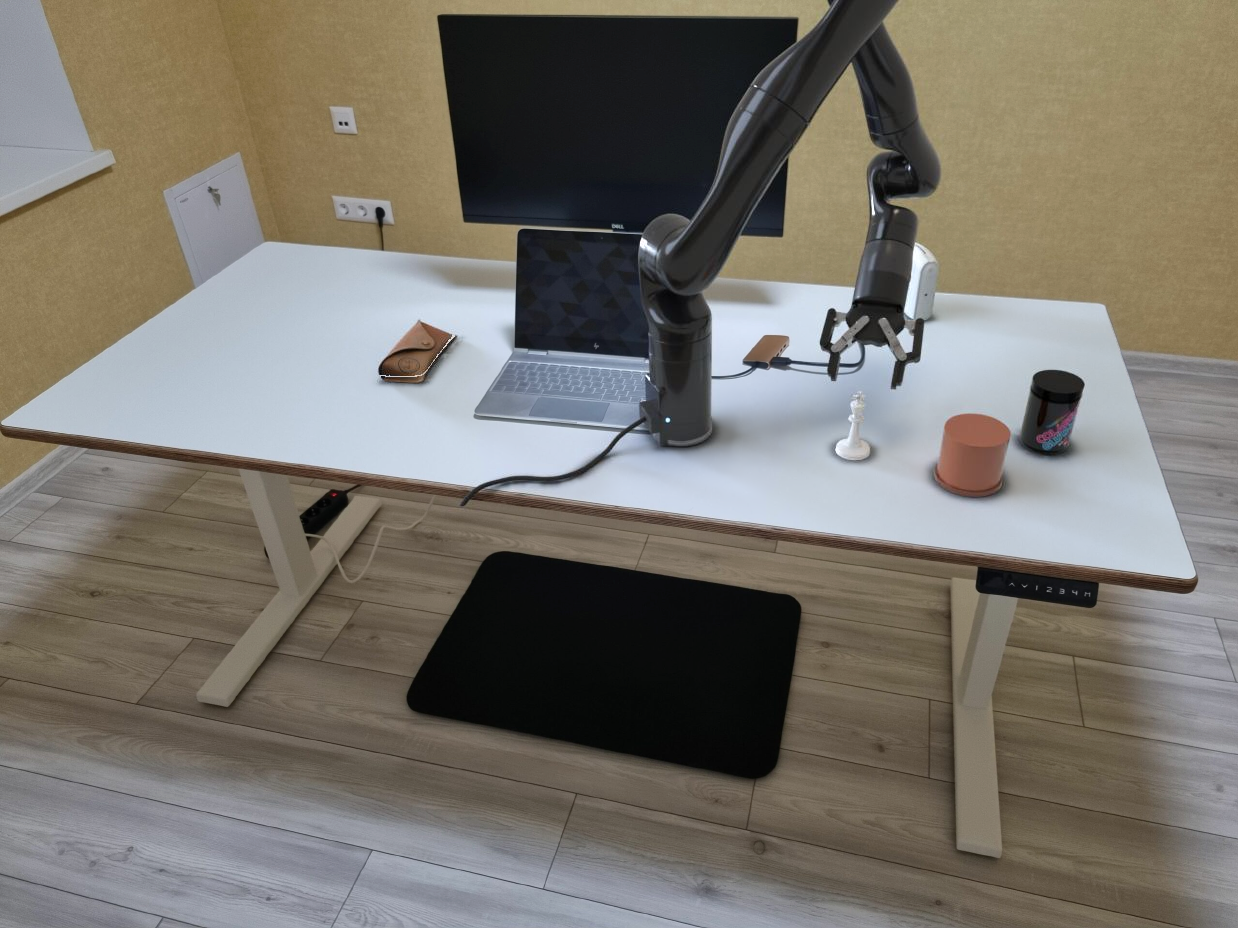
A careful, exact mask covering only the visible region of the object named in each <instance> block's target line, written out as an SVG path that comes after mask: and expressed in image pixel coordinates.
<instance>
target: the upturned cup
mask: <svg viewBox="0 0 1238 928" xmlns="http://www.w3.org/2000/svg"><path fill="white" fill-rule="evenodd" d="M1010 440H1011V431H1010V428H1009V427H1008V426H1007V424H1005V423H1004V422H1003V421H1001V420H999V419H997V418H995V417H992V416H990V415H986V414H981V413H970V412H969V413H960V414H957V415H953V416H951V417H950V418H948V419H947V420H946V421H945V423H944V426H943V432H942V437H941V443H940V448H939V454H938V460H937V463H936V464H935V466H934V470H933V478H934V479H935V482H936V483H937V484H938V485H939V487H941V488H942V489H944V490H945V491H948V492H950V493H952V494H954V495H958V496H960V497H961V496H962V497H965V498H967V497H968V498H983V497H988V496H991V495H994V494H995V493H997V492H998V491H1000V489H1001V488H1002V485H1003V480H1004V475H1003V470H1004V467H1005V461H1006V457H1007V452H1008V448H1009V444H1010Z"/></svg>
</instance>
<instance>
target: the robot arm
mask: <svg viewBox="0 0 1238 928" xmlns="http://www.w3.org/2000/svg"><path fill="white" fill-rule="evenodd" d="M826 1H827V4H828V6H829V8H828V9H827V11H826V12H825V13H824V14H823V16H822V17H821V19H819V21H818V22H817V23H816V24H815V25H814V26H813V27H812V29H810V30H809V31H808V32H807V33H806V34H804V36H802V37H801V38H800V39H799V40H797V41H796V42H795V43H793V44H792V45H791V46H789V47H788V48H786V50H784V51H783V52H782V53H780V54H779V55H778V56H777V57H775V58H774V59H773V60H772V61H770V62H769V63H768V64H767V65H766V66H765V67H764V68H763V69H762V70H761V71H760V72H759V73H758V74H757V75H756V77H755V78H754V80H753V81H752V82H751V84H750V85H749V87H748V89H747V90H746V92H745V93H744V94H743V96H742V98H741V100H740V101H739V102H738V104H737V106H736V107H735V109H734V111H733V113H732V114H731V116H730V118H729V120H728V123H727V125H726V128H725V131H724V135H723V139H722V143H721V148H720V154H719V159H718V162H717V168H716V173H715V177H714V179H713V181H712V184H711V187H710V189H709V191H708V192H707V194H706V196H705V198H704V199H703V201H702V203H701V204H700V206H699V207H698V209H697V210H696V212H695V214H694V215H693V216H692V217H691V219H689V218H688V217H685V216H683V215H681V214H677V213H666V214H662V215H659V216H657V217H656V218H654V219H653V220H651V221H650V222H649V223H648V225H647V226H646V227H645V229H644V230H643V232H642V235H641V237H640V241H639V244H638V250H637V251H638V253H637V264H638V265H637V266H638V280H639V290H640V302H641V308H642V312H643V315H644V316H645V317H644V318H645V320H646V324H647V347H648V352H647V353H648V372H646V373H645V374H644V386H645V389H644V390H645V400H643V401H640V402H638V411H639V418H638V420H636V421H634V422H633V423H631V424H629V425H628V426H626V427H625V428H624V429H623V430H621V431H620V432H619V433H618V434H617V435H616V436H615V437H614V438H613V439H612V440H611V442H610V443H609V444H608V446H607V447H606V448H605V449H604V450H602V452H601V453H599V454H598V455H597V456H596V457H594V458H593V459H592V460H591V461H589V462H587V464H585V465H583V466H582V467H580V468H578V469H576V470H573V471H570V472H566V473H563V474H560V475H559V474H558V475H553V476H540V475H539V476H538V475H537V476H536V475H511V476H505V477H501V478H497V479H493V480H490V481H486V482H483V483H480V484H479V485H477V486H476V487H473V488H472V489H471V490H470V491H469V492H468V493H467V494H466V495H465V496H464V497H463V499H462V500H461V502H460V503H459V507H465V506H466V505H467V504H468V502H469V501H470V500H471V499H472V498H473V497H474V496H475V495H476V494H477V493H478V492H480V491H482V490H484V489H487V488H489V487H492V486H496V485H501V484H505V483H509V482H515V481H528V482H529V481H530V482H542V483H543V482H545V483H546V482H557V481H562V480H567V479H570V478H572V477H576V476H578V475H581V474H582V473H585V472H586V471H588V470H590V469H591V468H593V467H594V466H595V465H596V464H598V463H599V462H600V461H601V460H603V458H605V457H606V456H607V455H608V454H609V453H610V452H611V451H612V450H613V448H614V447H615V446H616V444H617V443H618V442H619V441H620V440H621V439H622V438H623V437H624V436H625V435H627V434H628V433H630V432H631V431H633V430H634V429H636V428H637V427H639V426H641V425H642V424H644V426H645V427H646V429H647V430H648V431H649V433H650V434H651V436H652V438H654V439H655V441H656V443H657V444H658V445H659V446H660V447H666V446H670V447H690V446H695V445H698V444H701V443H703V442H705V441H706V440H707V439H709V438H710V436H711V435H712V433H713V422H712V421H713V420H712V419H713V418H712V396H713V395H712V394H713V393H712V392H713V391H712V387H713V386H712V384H713V383H712V382H713V380H712V377H713V368H712V367H713V364H712V363H713V361H712V359H713V357H712V355H713V354H712V353H713V350H712V349H713V315H712V314H713V313H712V310H711V307H710V306H709V304H708V302H707V300H706V298H705V297H704V294H703V292H704V291H706V290H707V289H708V288H709V287H711V286H712V284H713V283H714V282H715V281H716V279H717V278H718V277H719V275H720V274H721V272H722V270H723V269H724V267H725V265H726V264H727V261H728V259H729V257H730V256H731V254H732V253H733V250H734V248H735V246H736V245H737V242H738V240H739V239H740V237H741V235H742V233H743V230H745V229H744V228H745V227H746V226H747V223H748V221H749V219H750V218H751V216H752V214H753V213H754V211H755V209H756V208H757V206H758V205H759V203H760V202H761V199H762V198H763V197H764V195H765V194H766V192H767V190H768V189H769V188H770V186H771V184H772V182H773V180H774V179H775V178H776V176H777V174H778V173H779V171H780V170H781V169H782V166H783V165H784V164H785V162H786V160H787V159H788V158H789V157H790V156H791V154H792V152H793V151H794V149H795V148H796V146H797V145H798V143H799V142H800V140H801V139H802V137H803V136H804V134H805V133H806V131H807V130H808V128H809V127H810V125H811V123H812V121H813V120H814V118H815V117H816V115H817V113H818V111H820V108H821V107H822V106H823V104H824V102H825V101H826V99H827V98H828V96H829V95H830V93H831V92H832V91H833V89H834V88H835V86H836V85H837V83H838V82H839V80H840V79H841V78H842V76H843V75H844V74H845V72H846V70H847V69H848V67H849V66H850V64H851V66H852V69H853V71H854V75H855V78H856V82H857V85H858V89H859V93H860V97H861V101H862V106H863V111H864V116H865V121H866V125H867V130H868V134H869V135H868V136H869V139H870V141H871V142H872V144H873V145H874V146H875V147H877V148H879V149H883V150H886V151H881V152H878V153H876V154H875V156H873V157H872V158H871V160H870V161H869V163H868V166H867V168H866V184H867V193H868V194H867V195H868V203H869V204H868V205H869V215H868V216H869V220H868V227H867V232H866V237H865V243H864V247H863V251H862V254H861V256H860V260H859V265H858V269H857V274H856V280H855V284H854V290H853V295H852V300H851V304H850V305H851V306H850V308H849V310H848V311H847V312H841V311H837V310H836V308H834V307H831V308H829V309H827V312H826V317H825V320H824V324H823V328H822V331H821V335H820V338H819V347H820V349H821V351H822V352H826V353H828V354H829V359H828V364H827V369H826V373H827V376H828V377H830V382H837V380H838V374H839V369H840V365H841V359H842V358H841V355H843V353H845V352H846V351H847V350H848V349H850V348H851V347H853V345H855V344H856V343H858V344H859V345H861V346H874V347H877V348H883V347H884V346H887V347H888V349H889V351H890V352H891V354H892V355H893V357H894V358H895V361H894V366H893V371H892V375H891V381H890V382H891V383H890V390H894V391H896V390H897V387H901V386H902V385H903V382H904V376H905V370H906V366H907V365H909V364H918V363H920V361H921V357H922V348H923V341H924V332H925V320H923V319H922V318H918V319H917V320H914V319H905V316H904V315H905V313H904V309H905V304H906V298H907V293H908V288H909V283H910V280H911V272H912V265H913V251H914V245H915V243H916V239H917V236H918V235H917V234H918V230H919V229H918V228H919V217H918V215H917V214H916V212H915V211H914V210H911V208H908V207H904V206H900V205H896V204H892V203H891V201H893V200H911V199H912V200H913V199H924V198H928V197H930V196H932V195H933V194H934V193H935V191H937V189H938V187H939V186H940V183H941V180H942V165H941V161H940V158H939V156H938V153H937V151H936V149H935V148H934V146H933V144H932V141H931V140H930V138H929V137H928V134H927V133H926V130H925V128H924V126H923V124H922V122H921V119H920V114H919V109H918V102H917V97H916V90H915V86H914V82H913V79H912V76H911V73H910V71H909V70H908V67H907V64H906V63H905V61H904V58H903V57H902V55H901V53H900V52H899V49H898V48H897V46H896V44H895V43H894V41H893V39H892V37H891V35H890V33H889V31H888V29H887V27H886V24H885V22H884V21H885V20H886V18H887V16H888V15H889V14H890V13H891V12H892V10H893V9H894V8H895V6H896V5H897V3H898V2H899V1H900V0H826ZM843 322H845V323H846V325H847V327H848V329H847V330H846V331H845V332H844V333H843V334H842V335H841V337H840V338H839V339H837V341H835V343H833V342H832V338H833V336H834V332H835V328H838V327H840V325H841V324H842V323H843ZM904 329H906V330H908V334H909V336H912V337H913V340H912V348H911V351H908V352H906V351H905V350H904V348H903V346H902V345H901V342H900V340H899V337H897V336H898V335H900V334H901V333H902V331H904Z"/></svg>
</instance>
